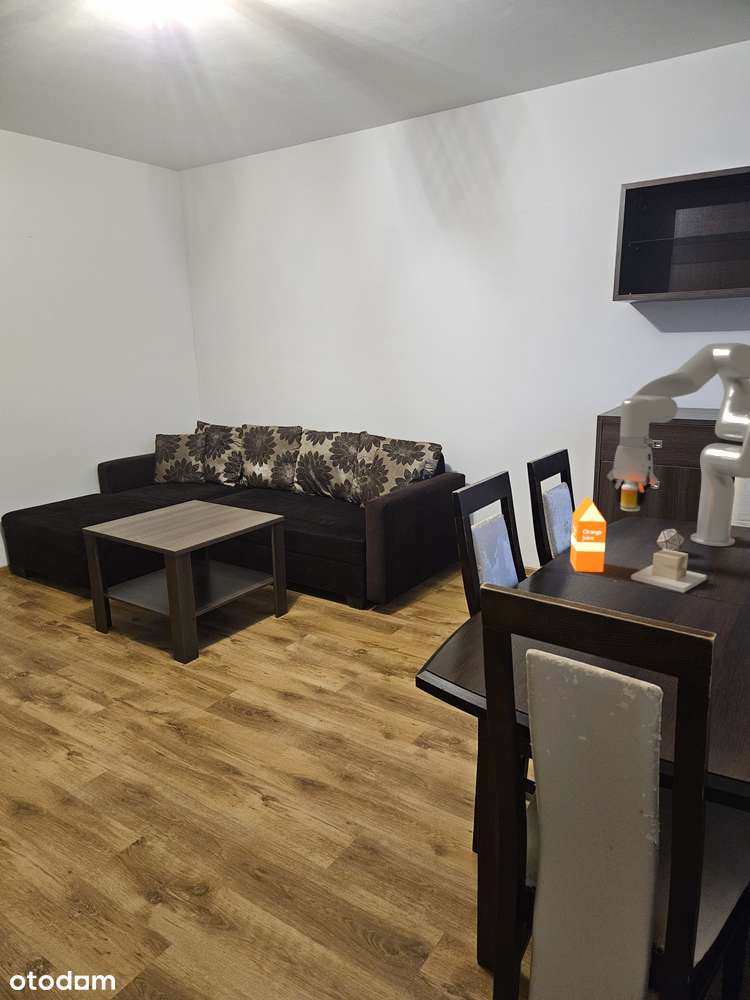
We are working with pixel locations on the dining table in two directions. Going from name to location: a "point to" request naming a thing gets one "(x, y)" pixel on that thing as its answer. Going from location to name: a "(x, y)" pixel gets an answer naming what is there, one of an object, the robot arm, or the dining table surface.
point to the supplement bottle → (629, 496)
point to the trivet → (678, 585)
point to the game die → (670, 539)
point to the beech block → (669, 564)
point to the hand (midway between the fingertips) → (630, 502)
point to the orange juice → (588, 538)
